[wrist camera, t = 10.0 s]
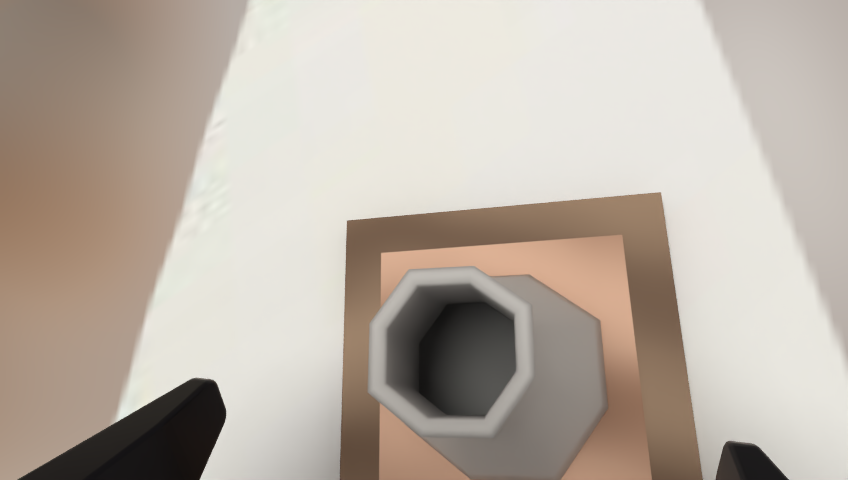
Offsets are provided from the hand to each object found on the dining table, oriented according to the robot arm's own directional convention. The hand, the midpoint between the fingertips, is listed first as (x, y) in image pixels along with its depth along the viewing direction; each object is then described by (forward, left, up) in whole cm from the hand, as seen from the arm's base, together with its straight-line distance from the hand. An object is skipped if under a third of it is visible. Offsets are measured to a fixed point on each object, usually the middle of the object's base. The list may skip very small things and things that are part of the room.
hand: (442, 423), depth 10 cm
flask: (+1, 0, -10) cm, 10 cm away
